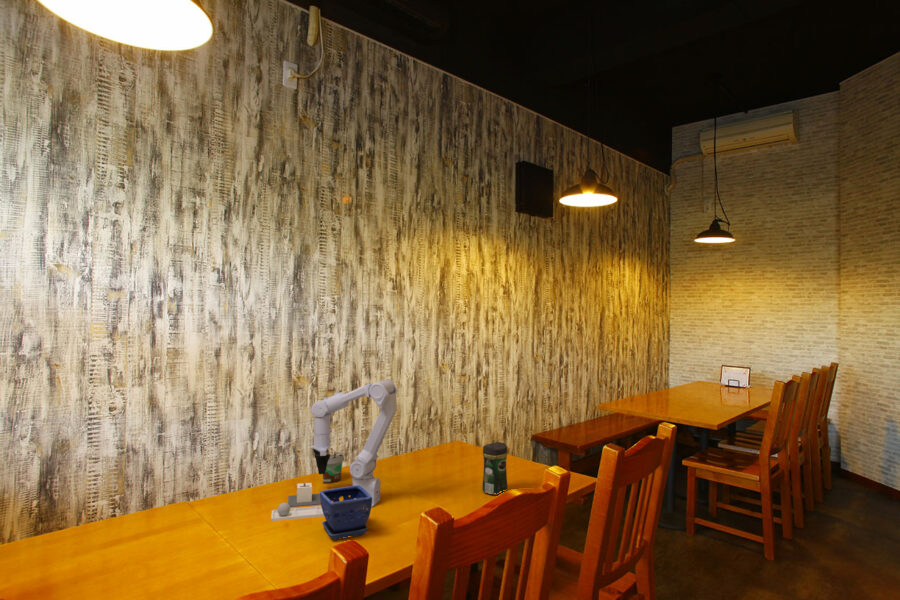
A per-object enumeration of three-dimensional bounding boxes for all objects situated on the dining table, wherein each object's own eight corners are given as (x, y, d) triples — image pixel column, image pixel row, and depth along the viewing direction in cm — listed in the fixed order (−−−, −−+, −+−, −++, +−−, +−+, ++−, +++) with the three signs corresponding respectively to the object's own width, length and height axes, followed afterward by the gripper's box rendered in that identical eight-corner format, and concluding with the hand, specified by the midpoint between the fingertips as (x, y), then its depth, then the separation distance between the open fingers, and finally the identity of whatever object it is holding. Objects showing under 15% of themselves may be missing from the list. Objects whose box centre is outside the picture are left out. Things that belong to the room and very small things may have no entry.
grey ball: (292, 513, 172) (292, 501, 172) (285, 518, 168) (286, 505, 169) (281, 512, 173) (281, 500, 173) (274, 517, 169) (275, 504, 169)
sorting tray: (337, 507, 180) (337, 504, 180) (339, 515, 172) (339, 512, 172) (271, 513, 173) (271, 510, 173) (271, 521, 166) (271, 518, 166)
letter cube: (311, 496, 188) (311, 482, 188) (311, 501, 183) (312, 486, 184) (296, 497, 187) (297, 483, 187) (296, 502, 182) (297, 487, 182)
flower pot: (328, 545, 150) (329, 503, 150) (317, 528, 162) (318, 489, 162) (372, 537, 156) (373, 496, 157) (359, 521, 168) (359, 484, 168)
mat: (319, 495, 192) (319, 493, 192) (321, 505, 181) (321, 503, 181) (288, 497, 189) (288, 495, 189) (288, 508, 178) (288, 506, 178)
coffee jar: (494, 486, 205) (495, 439, 206) (510, 491, 200) (511, 442, 200) (478, 492, 198) (479, 443, 199) (494, 497, 193) (495, 447, 193)
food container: (336, 485, 203) (336, 460, 203) (321, 484, 204) (322, 458, 204) (348, 476, 215) (349, 452, 215) (334, 475, 216) (335, 451, 216)
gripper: (309, 429, 197) (308, 466, 196) (311, 438, 183) (310, 477, 182) (328, 428, 199) (327, 464, 198) (332, 437, 185) (331, 475, 185)
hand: (321, 470), depth 191 cm, fingers open, 7 cm apart
